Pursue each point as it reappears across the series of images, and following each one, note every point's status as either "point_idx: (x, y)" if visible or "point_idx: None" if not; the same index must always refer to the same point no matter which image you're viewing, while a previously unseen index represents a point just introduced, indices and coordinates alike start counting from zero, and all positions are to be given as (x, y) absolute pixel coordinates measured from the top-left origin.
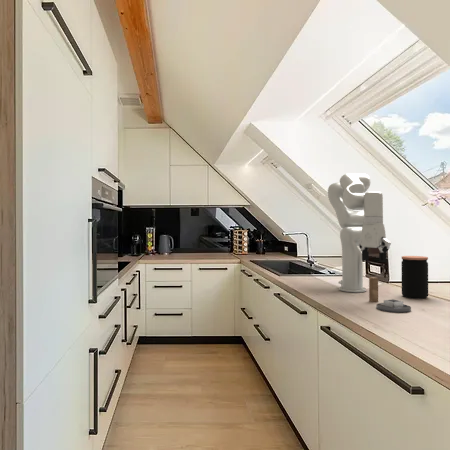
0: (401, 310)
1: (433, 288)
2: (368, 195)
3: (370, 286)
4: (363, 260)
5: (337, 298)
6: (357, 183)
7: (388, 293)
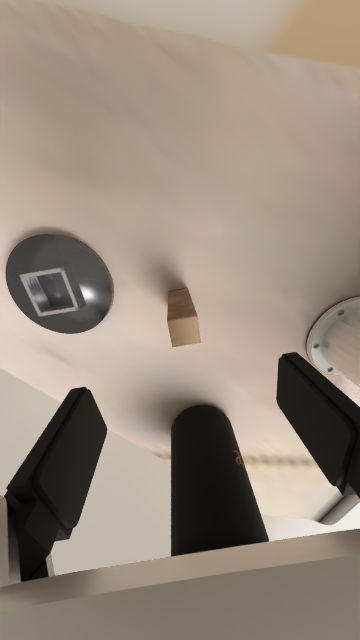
0: (8, 279)
1: (263, 497)
2: None
3: (185, 303)
4: (283, 358)
5: (264, 199)
6: None
7: (260, 398)
